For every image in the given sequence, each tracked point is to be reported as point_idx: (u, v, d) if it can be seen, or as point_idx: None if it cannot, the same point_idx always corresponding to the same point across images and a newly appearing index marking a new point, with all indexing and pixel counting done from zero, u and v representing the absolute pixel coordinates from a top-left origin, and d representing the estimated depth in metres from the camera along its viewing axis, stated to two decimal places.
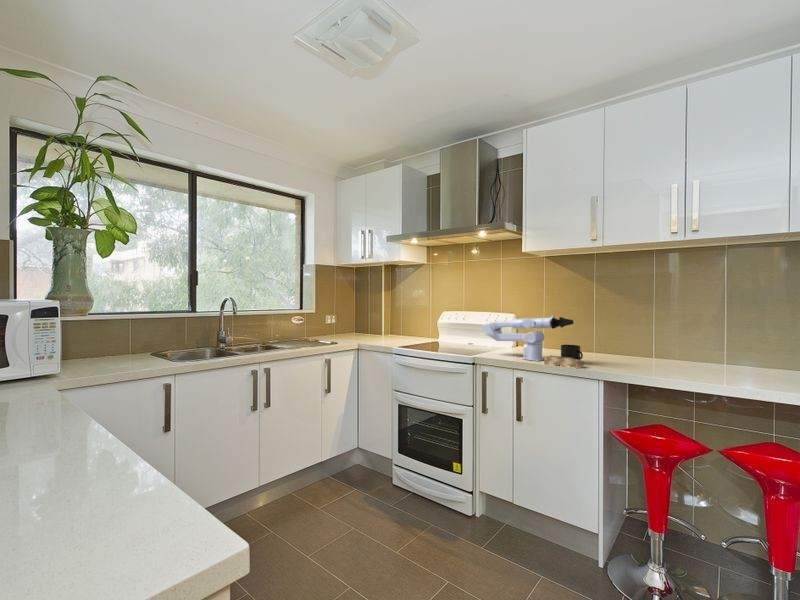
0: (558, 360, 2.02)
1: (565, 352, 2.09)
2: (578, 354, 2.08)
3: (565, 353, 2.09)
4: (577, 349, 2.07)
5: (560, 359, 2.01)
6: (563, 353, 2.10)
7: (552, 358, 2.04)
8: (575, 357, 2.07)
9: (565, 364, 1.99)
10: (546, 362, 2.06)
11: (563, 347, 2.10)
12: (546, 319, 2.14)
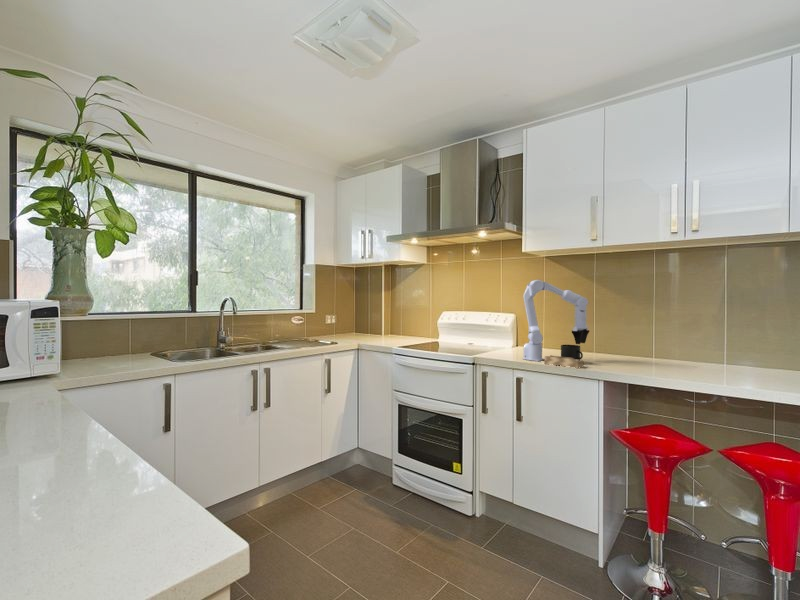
0: (558, 360, 2.02)
1: (565, 352, 2.09)
2: (578, 354, 2.08)
3: (565, 353, 2.09)
4: (577, 349, 2.07)
5: (560, 359, 2.01)
6: (563, 353, 2.10)
7: (552, 358, 2.04)
8: (575, 357, 2.07)
9: (565, 364, 1.99)
10: (546, 362, 2.06)
11: (563, 347, 2.10)
12: (582, 322, 2.15)
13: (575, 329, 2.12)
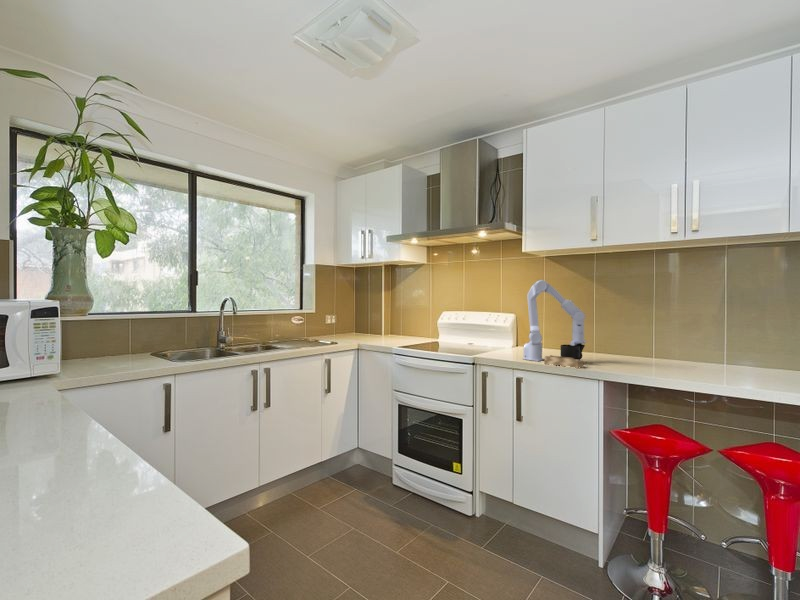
0: (558, 360, 2.02)
1: (564, 352, 2.09)
2: (578, 354, 2.08)
3: (565, 353, 2.09)
4: (577, 349, 2.07)
5: (560, 359, 2.01)
6: (563, 353, 2.10)
7: (552, 358, 2.04)
8: (575, 357, 2.07)
9: (565, 364, 1.99)
10: (546, 362, 2.06)
11: (563, 347, 2.10)
12: (580, 336, 2.12)
13: (573, 344, 2.10)
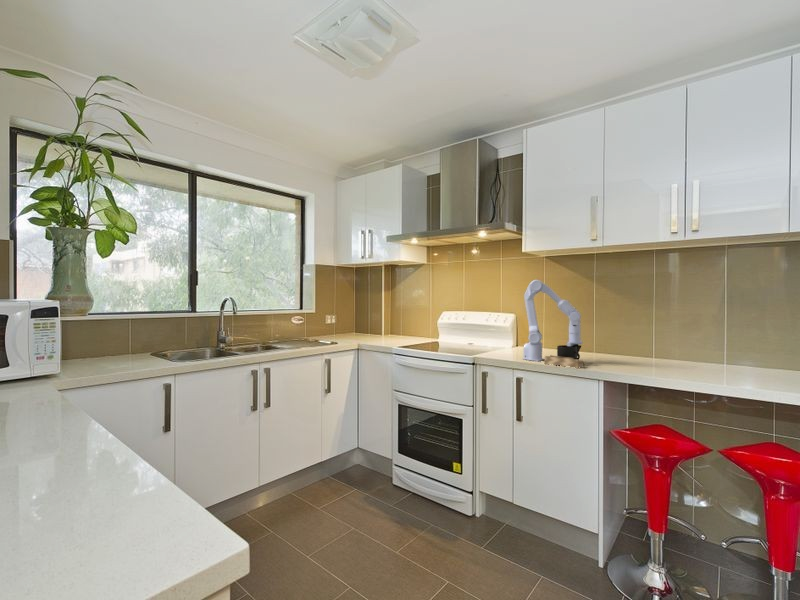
0: (558, 360, 2.02)
1: (561, 353, 2.05)
2: (575, 355, 2.04)
3: (562, 354, 2.05)
4: (574, 350, 2.04)
5: (560, 359, 2.01)
6: (560, 354, 2.06)
7: (552, 358, 2.04)
8: None
9: (565, 364, 1.99)
10: (546, 362, 2.06)
11: (560, 348, 2.06)
12: (576, 337, 2.09)
13: (569, 344, 2.07)
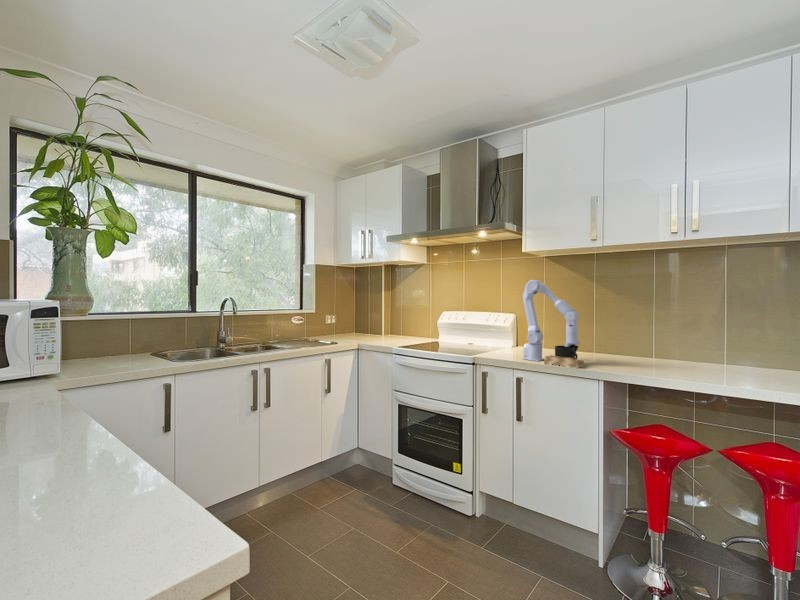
0: (558, 360, 2.02)
1: (559, 353, 2.04)
2: (573, 355, 2.02)
3: (559, 355, 2.03)
4: (571, 350, 2.02)
5: (560, 359, 2.01)
6: (557, 354, 2.04)
7: (552, 358, 2.04)
8: None
9: (565, 364, 1.99)
10: (546, 362, 2.06)
11: (557, 348, 2.04)
12: (574, 337, 2.07)
13: (566, 345, 2.05)
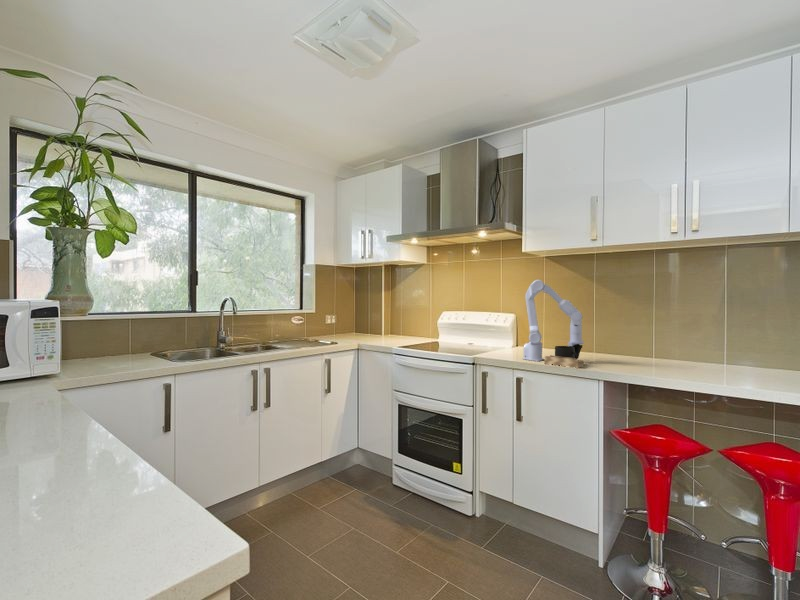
0: (558, 360, 2.02)
1: (559, 353, 2.04)
2: (573, 356, 2.03)
3: (559, 355, 2.03)
4: (572, 350, 2.02)
5: (560, 359, 2.01)
6: (557, 355, 2.04)
7: (552, 358, 2.04)
8: None
9: (565, 364, 1.99)
10: (546, 362, 2.06)
11: (557, 348, 2.04)
12: (577, 337, 2.10)
13: (570, 344, 2.08)
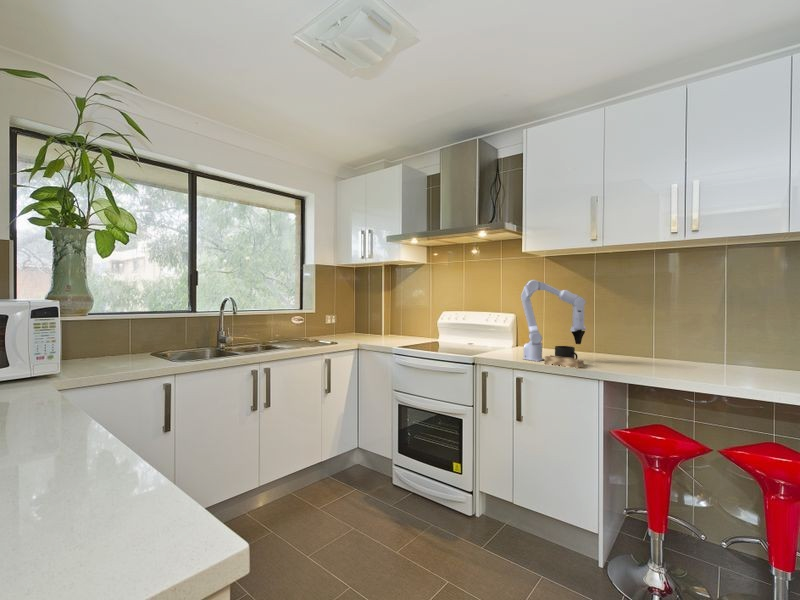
0: (558, 360, 2.02)
1: (559, 353, 2.04)
2: (573, 356, 2.03)
3: (559, 355, 2.03)
4: (572, 350, 2.02)
5: (560, 359, 2.01)
6: (557, 355, 2.04)
7: (552, 358, 2.04)
8: None
9: (565, 364, 1.99)
10: (546, 362, 2.06)
11: (557, 348, 2.05)
12: (580, 322, 2.13)
13: (573, 329, 2.10)
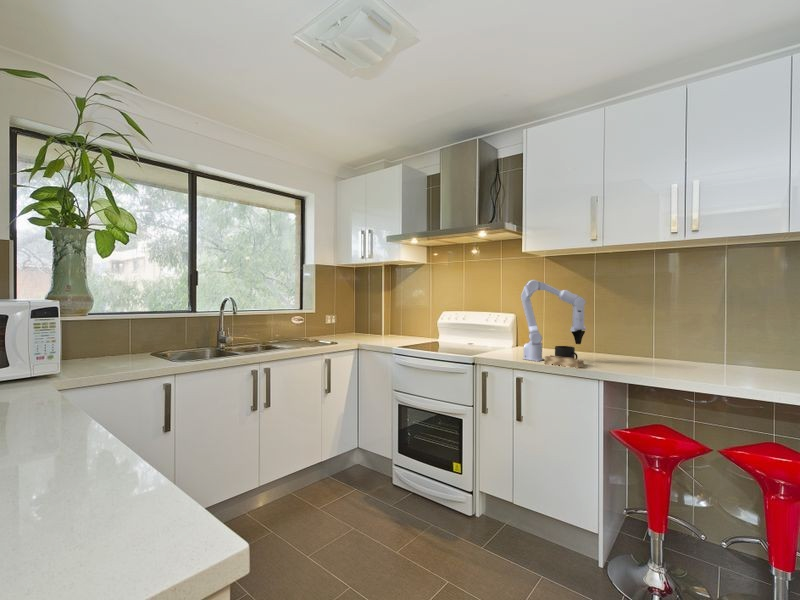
0: (558, 360, 2.02)
1: (559, 353, 2.04)
2: (573, 356, 2.03)
3: (559, 355, 2.03)
4: (572, 350, 2.02)
5: (560, 359, 2.01)
6: (557, 355, 2.04)
7: (552, 358, 2.04)
8: None
9: (565, 364, 1.99)
10: (546, 362, 2.06)
11: (557, 348, 2.04)
12: (580, 322, 2.13)
13: (573, 329, 2.10)
